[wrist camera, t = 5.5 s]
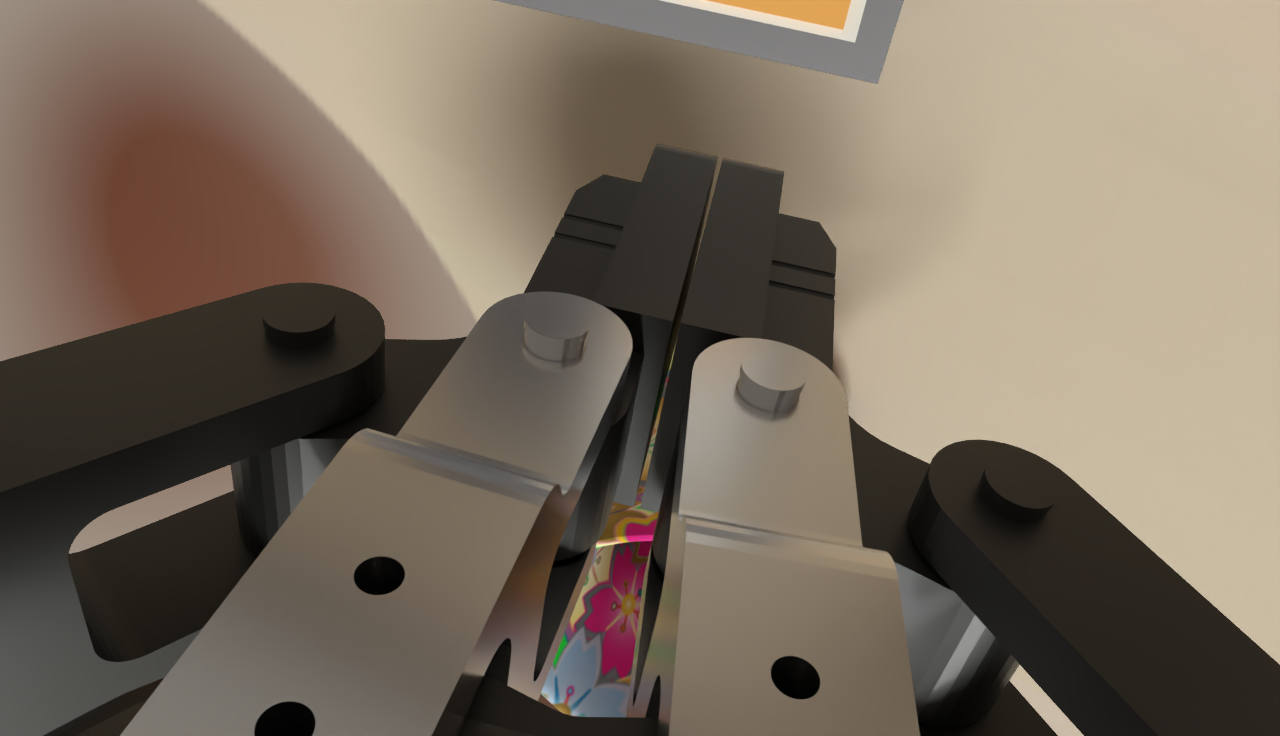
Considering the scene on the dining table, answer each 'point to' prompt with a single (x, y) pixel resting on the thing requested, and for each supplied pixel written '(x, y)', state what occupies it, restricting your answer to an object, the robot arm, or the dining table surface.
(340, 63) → the dining table surface
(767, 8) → the rocker outlet
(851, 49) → the power strip
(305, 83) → the dining table surface
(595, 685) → the mug
